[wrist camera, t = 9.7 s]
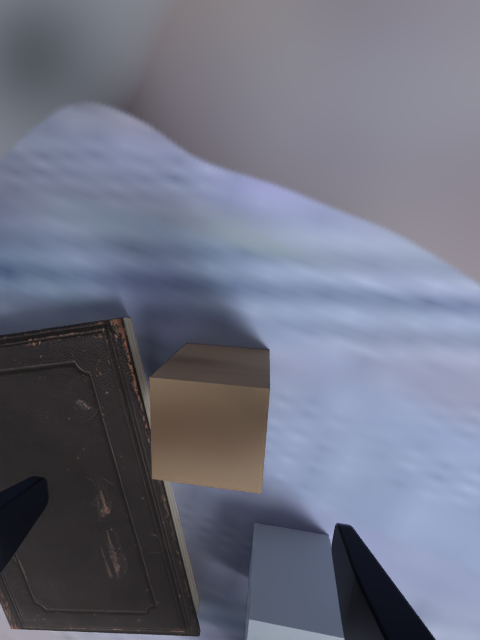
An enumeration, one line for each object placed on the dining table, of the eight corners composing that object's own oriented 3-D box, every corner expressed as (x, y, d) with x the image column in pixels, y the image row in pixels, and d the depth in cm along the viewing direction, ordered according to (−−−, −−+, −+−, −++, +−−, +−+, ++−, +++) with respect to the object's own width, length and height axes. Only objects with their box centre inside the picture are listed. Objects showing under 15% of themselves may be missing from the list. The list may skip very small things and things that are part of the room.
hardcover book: (140, 311, 16) (119, 318, 14) (207, 595, 20) (199, 637, 18) (-68, 342, 18) (-116, 353, 16) (31, 592, 22) (4, 629, 20)
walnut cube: (263, 424, 16) (261, 494, 11) (186, 416, 16) (152, 478, 12) (269, 349, 15) (270, 388, 10) (187, 342, 15) (149, 377, 10)
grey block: (318, 589, 18) (336, 708, 13) (248, 576, 18) (241, 687, 14) (328, 533, 17) (352, 640, 12) (254, 521, 17) (249, 619, 13)
